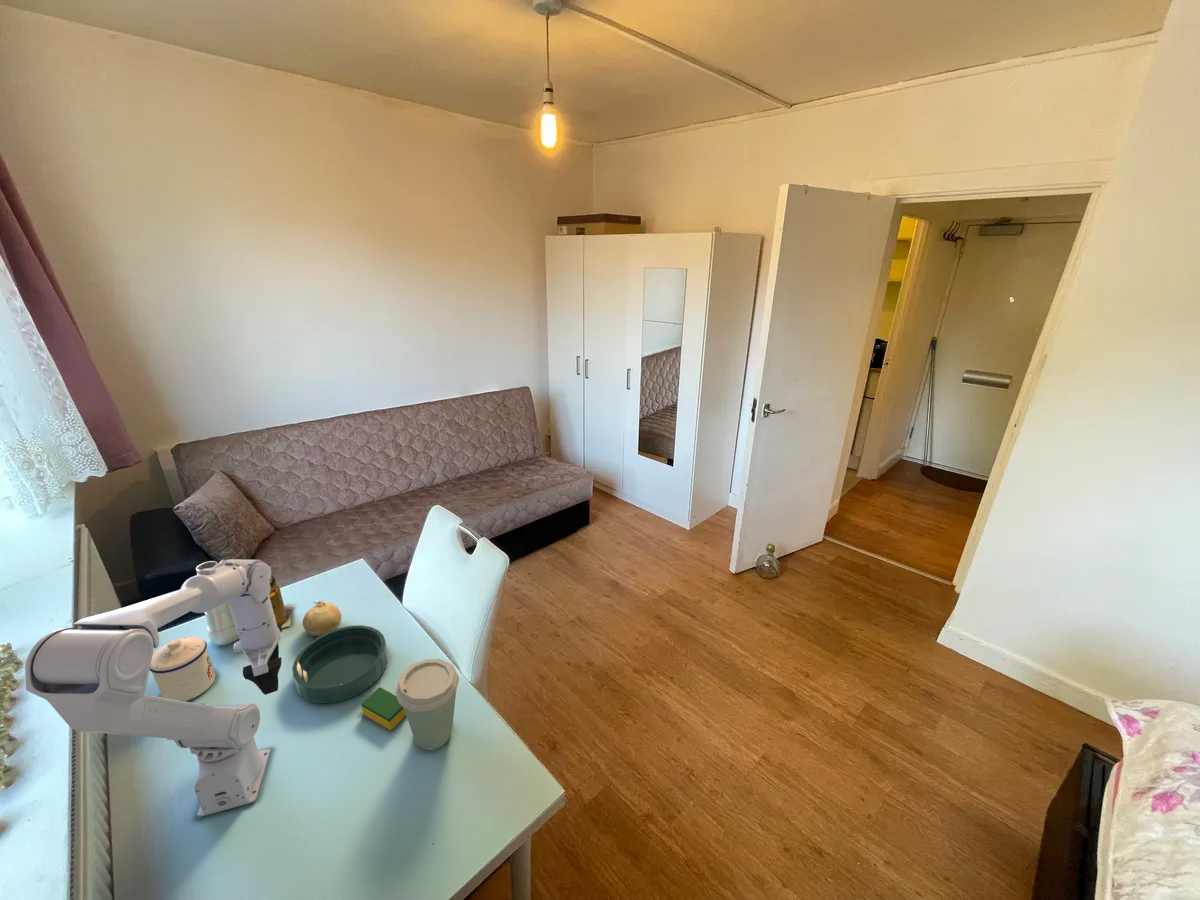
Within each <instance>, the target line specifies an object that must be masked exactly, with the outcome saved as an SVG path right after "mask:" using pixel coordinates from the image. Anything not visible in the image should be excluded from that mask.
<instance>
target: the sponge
mask: <svg viewBox="0 0 1200 900" xmlns="http://www.w3.org/2000/svg"><path fill="white" fill-rule="evenodd" d="M360 705H361V709H362V710H361V711H362V715H364V716H365V717H366V718H368V719H370V720H372V721H373V722H376V723H377V724H379V725H381V726H383V727H384V728H386V729H388V730H389V731H392V730H393V729H394V728H395V727H396V726H397V725H398V724H400V722H401V721H402V720H403V719H404V718H405V717H406V714H405V712H404V709H403V707H402V706H401V704H400V703H399V702H398V699H397V696H396V694H394V693H392V692H390V691H388V690H386V689H385V688H382V687H380V686H379V687H377V689H375V690H374V691H373V692H372V693H371V694H369V696H368V697H366V698H365V699H364V700H363V701H362V702H361V703H360Z"/></svg>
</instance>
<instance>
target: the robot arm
mask: <svg viewBox="0 0 1200 900" xmlns="http://www.w3.org/2000/svg"><path fill="white" fill-rule="evenodd" d="M217 563H218V564H217V565H216V567H215V568H205V569H202V570H200V574H199V575H197V574H196V575H194V576H191V577H189V578H188V579H186V580H185V581H184V582H183V584H182V585H181V587H180V589H178V590H175V591H171V592H168V593H165V594H162V595H159V596H156V597H152V598H149V599H147V600H143V601H139V602H137V603H133V604H130V605H127V606H124V607H121V608H117V609H114V610H111V611H110V610H109V611H106V612H102V613H99V614H95V615H91V616H88V617H84V618H81V619H79V620H77V621H75V622H74V623H72V625H74V626H78V627H80V628H79V629H77V628H75V627H61V628H57V629H54V630H52V631H50V632H48V633H46V634H45V635H44V636H42V637H41V638H40V639H39V640H38V641H37V642H36V643H35V644H34V645H33V647H32V648H31V650H30V652H28V655H27V658H26V661H25V667H24V670H25V671H24V673H25V690H26V692H29V693H31V694H33V695H35V696H37V697H40V698H42V699H43V700H45V701H47V702H48V703H49V705H50V706H51V707H52V708H53V709H54V710H55V712H56V713H57V714H58V715H59V716H60V718H62V720H63V721H64V722H65V723H66V724H67V725H68V727H69V728H70V729H72V730H73V731H76V732H80V733H94V734H105V735H118V736H119V735H120V736H132V737H143V738H145V737H146V738H156V739H157V738H158V739H166V740H168V741H173V742H174V743H175V744H176V746H177V747H179V748H180V749H189V750H190V753H191V754H193V755H196V757H197V761H198V767H199V768H198V774H197V778H196V781H195V784H194V793H195V795H196V798H197V800H198V803H199V807H198V811H197V813H196V816H197V817H198V818H203V817H205V816H208V815H213V814H216V813H219V812H223V811H226V810H231V809H234V808H238V807H240V806H245V805H248V804H251V803H254V802H255V801H256V800H257V798H258V794H259V792H260V787H261V784H262V781H263V778H264V774H265V770H266V767H267V764H268V760H269V758H270V754H271V750H270V748H266V749H262V750H258V749H259V748H258V747H257V744H256V740H255V735H256V733H257V731H258V729H259V726H260V721H261V713H260V708H259V706H257V704H255V703H246V704H209V703H208V704H206V703H196V702H190V701H179V700H173V699H167V698H162V696H156V695H149V694H146V688H147V684H148V680H149V674H150V665H151V660H152V656H153V653H154V650H155V649H158V647H159V646H160V635H159V631H158V629H159V628H161V627H163V626H166V625H167V624H169V623H171V622H173V621H174V620H177V619H178V618H180V617H182V616H184V615H186V614H188V613H190V612H192V613H195V614H205V612H207V611H209V610H211V609H214V608H216V607H218V606H220V605H222V604H224V603H226V602H228V604H229V608H230V611H231V614H232V617H233V620H234V623H235V627H236V630H237V633H238V636H239V639H238V640H239V641H235V642H234V643H233V652H234V653H239V652H242V653H243V655H244V656H245V658H246V659H247V661H248V662H249V663H250V664H249V665H245V666H243V667H242V676H243V678H244V679H245V680H247V681H250V682H252V683H253V684H254V685H255V686H256V687H257V688H258V689H259V691H261V693H262V694H263V695H264V696H266V695H269V694H272V693H275V692H278V690H279V673H280V669H281V666H282V657H280V647H279V644H280V643H279V642H280V640H281V639H282V631H283V628H282V625H281V623H276V619H275V616H274V612H273V608H272V604H271V601H270V597H269V594H270V590H271V587H270V578H271V576H272V567H271V566H269V564H267V563H266V562H265V561H263V560H261V559H241V558H239V559H237V558H235V559H234V558H231V559H221V560H220V561H219V562H217Z"/></svg>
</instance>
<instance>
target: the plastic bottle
mask: <svg viewBox="0 0 1200 900" xmlns="http://www.w3.org/2000/svg"><path fill="white" fill-rule="evenodd" d="M218 563H219V562H217V561H215V560H209V561H205V562H202V563H201V564H198V565H196V568H195V571H196V576H197V575H199V574H200V570H202V569H205V568H215V567H216V565H217V564H218ZM204 614H205V619H206V623H207V637H208V639H209V641H210V642H211V643H212V644H213V645H217V646H225V645H229V644H231V643H233V642H234V643H235V642H237V640H240V639H239V636H238V633H237V630H236V627H235V623H234V620H233V617H232V614H231V611H230V608H229V604H228V602H226V603H224V604H222V605H220V606H218V607H216V608H214V609H211V610H209V611H207V612H204Z"/></svg>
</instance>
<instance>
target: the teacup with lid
mask: <svg viewBox="0 0 1200 900" xmlns="http://www.w3.org/2000/svg"><path fill="white" fill-rule="evenodd" d="M149 672H151V674H152V676H153V679H154V681H155V683H156V687H157V688H158V692H159V693H160V695H161V696H160V697H162V698H167V699H173V700H179V701H185V702H189V701H190V700H193V699H194V698H197V697H198V696H200V695H202V694H203V693H205V692H206V691H207V690H209V688H211V686H212V685H213V684H214V682H215V681H216V671H215V669H214V666H213V663H212V660H211V657H210V654H209V651H208V644H207V641H206V640H205V639H203V638H202V637H199V636H193V635H192V636H185V637H181V638H175V639H171V640H170V641H169V642H167V643H165V644H164V645H161V647H159V648H157V649H156V651H153V656H152V660H151V665H150V670H149Z"/></svg>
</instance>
